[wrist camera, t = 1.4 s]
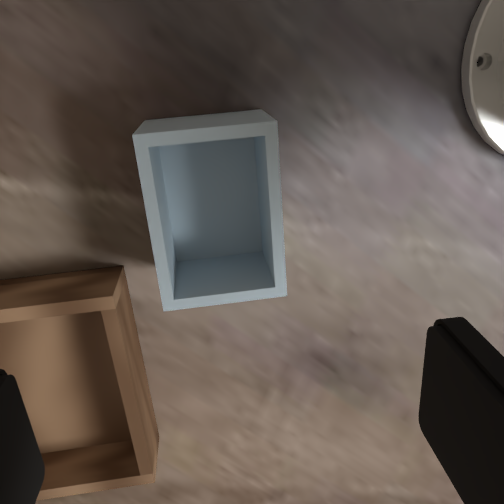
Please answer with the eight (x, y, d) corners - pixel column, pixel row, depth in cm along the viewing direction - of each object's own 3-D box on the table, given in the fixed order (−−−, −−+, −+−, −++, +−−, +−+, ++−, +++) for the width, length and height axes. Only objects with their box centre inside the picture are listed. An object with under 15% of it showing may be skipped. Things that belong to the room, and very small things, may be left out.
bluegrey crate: (261, 109, 26) (277, 120, 21) (271, 255, 29) (286, 296, 24) (144, 120, 25) (132, 135, 20) (169, 267, 29) (163, 311, 24)
